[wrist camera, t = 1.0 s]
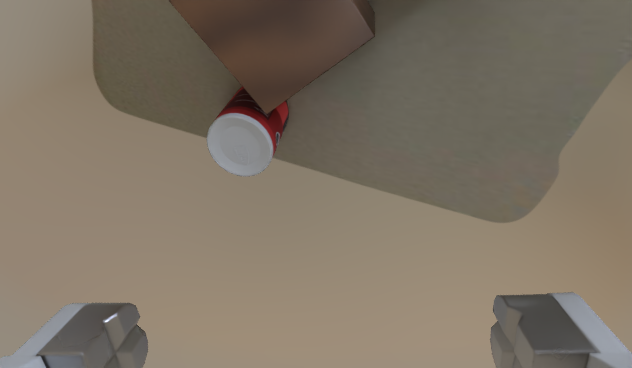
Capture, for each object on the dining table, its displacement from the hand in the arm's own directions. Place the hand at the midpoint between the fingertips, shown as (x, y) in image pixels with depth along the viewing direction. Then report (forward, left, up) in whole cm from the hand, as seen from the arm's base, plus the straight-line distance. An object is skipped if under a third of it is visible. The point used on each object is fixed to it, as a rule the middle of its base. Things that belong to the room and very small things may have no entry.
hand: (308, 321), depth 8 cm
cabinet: (+6, -6, -41) cm, 42 cm away
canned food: (+18, +3, -42) cm, 46 cm away
